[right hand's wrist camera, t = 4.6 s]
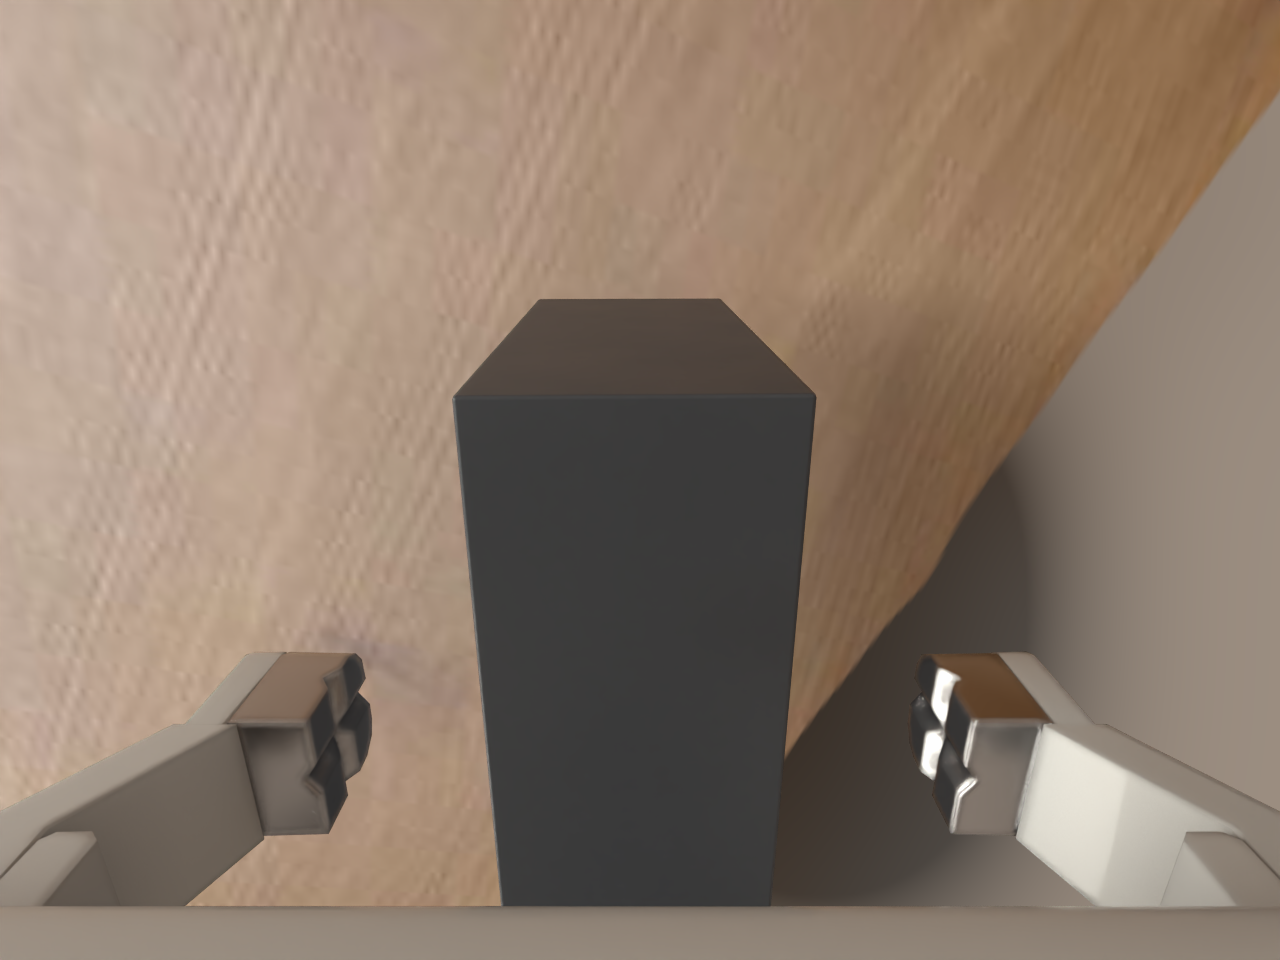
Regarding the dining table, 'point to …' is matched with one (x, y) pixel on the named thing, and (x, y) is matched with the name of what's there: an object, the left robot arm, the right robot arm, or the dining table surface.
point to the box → (634, 598)
